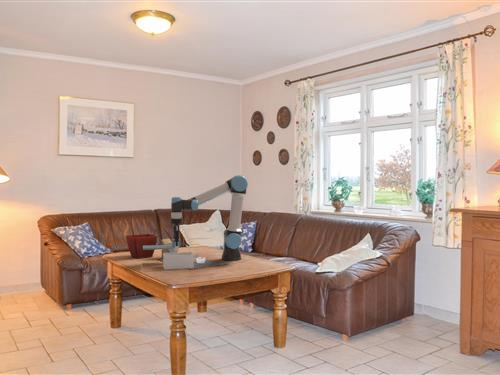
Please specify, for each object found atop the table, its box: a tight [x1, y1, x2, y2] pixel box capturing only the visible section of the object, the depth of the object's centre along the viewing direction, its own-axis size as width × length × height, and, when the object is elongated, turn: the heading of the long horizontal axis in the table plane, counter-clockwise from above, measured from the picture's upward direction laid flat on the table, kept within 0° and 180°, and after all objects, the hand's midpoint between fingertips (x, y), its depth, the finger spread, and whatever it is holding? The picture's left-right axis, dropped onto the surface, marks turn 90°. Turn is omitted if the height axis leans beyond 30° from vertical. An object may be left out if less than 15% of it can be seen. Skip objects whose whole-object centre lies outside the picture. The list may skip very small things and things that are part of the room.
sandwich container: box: [161, 238, 179, 260], centre depth 345 cm, size 9×15×15 cm, turn 53°
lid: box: [143, 238, 182, 250], centre depth 323 cm, size 27×13×6 cm, turn 104°
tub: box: [162, 251, 195, 271], centre depth 308 cm, size 20×12×10 cm, turn 104°
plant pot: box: [125, 233, 158, 259], centre depth 353 cm, size 19×19×17 cm
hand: (176, 250), depth 325 cm, fingers closed on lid, 4 cm apart
